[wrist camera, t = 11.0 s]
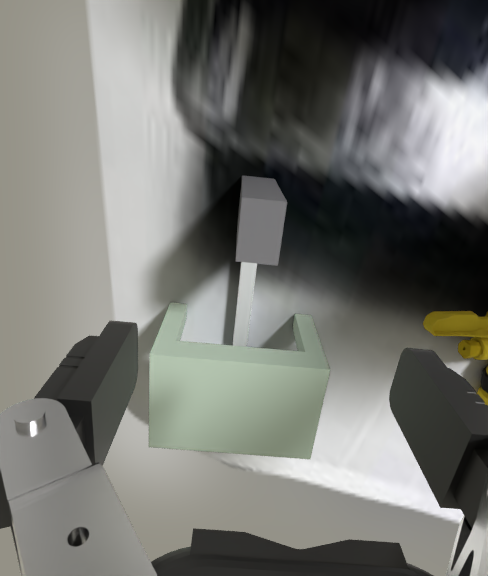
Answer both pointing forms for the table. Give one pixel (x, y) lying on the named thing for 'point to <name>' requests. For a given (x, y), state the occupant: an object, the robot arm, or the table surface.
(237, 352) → the footstool
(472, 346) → the sprinkler
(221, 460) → the table surface
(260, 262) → the block
